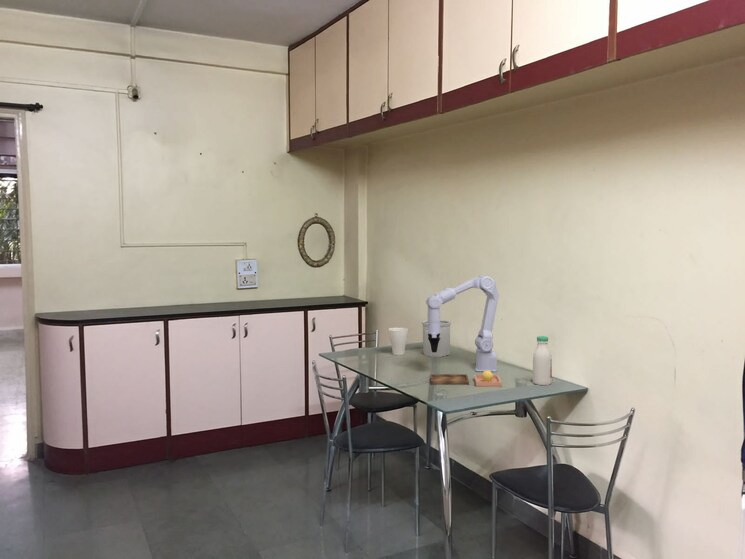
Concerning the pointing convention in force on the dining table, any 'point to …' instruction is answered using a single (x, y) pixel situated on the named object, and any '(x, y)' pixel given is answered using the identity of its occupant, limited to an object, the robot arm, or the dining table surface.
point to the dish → (481, 383)
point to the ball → (487, 376)
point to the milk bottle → (542, 362)
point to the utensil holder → (443, 342)
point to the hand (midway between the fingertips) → (434, 350)
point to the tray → (449, 379)
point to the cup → (398, 339)
